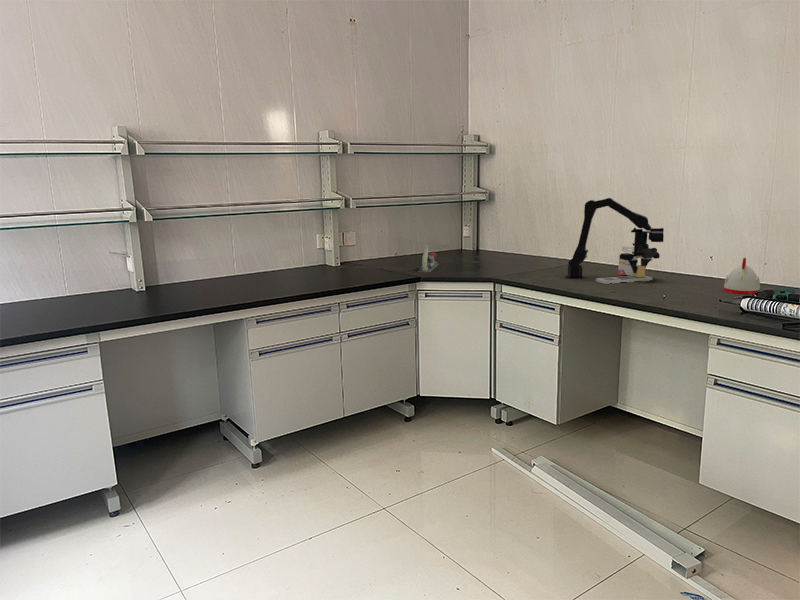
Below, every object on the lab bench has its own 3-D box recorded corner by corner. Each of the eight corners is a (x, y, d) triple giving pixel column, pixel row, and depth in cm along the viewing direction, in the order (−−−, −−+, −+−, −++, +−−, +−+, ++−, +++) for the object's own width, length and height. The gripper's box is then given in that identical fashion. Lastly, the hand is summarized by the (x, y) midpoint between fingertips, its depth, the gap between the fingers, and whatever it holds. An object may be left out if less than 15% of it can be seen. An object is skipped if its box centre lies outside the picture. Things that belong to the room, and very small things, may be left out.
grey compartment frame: (604, 283, 286) (604, 280, 286) (595, 281, 294) (595, 277, 294) (652, 280, 292) (652, 277, 291) (642, 278, 299) (642, 274, 299)
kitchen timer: (721, 292, 261) (725, 259, 257) (725, 287, 272) (728, 255, 269) (758, 295, 253) (762, 261, 250) (760, 290, 264) (764, 257, 261)
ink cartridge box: (617, 275, 309) (619, 247, 306) (619, 274, 313) (621, 246, 310) (634, 276, 304) (636, 248, 301) (636, 275, 308) (638, 247, 305)
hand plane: (417, 272, 333) (417, 246, 330) (427, 264, 362) (427, 240, 359) (429, 273, 331) (429, 246, 328) (439, 264, 361) (438, 240, 357)
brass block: (637, 278, 292) (637, 266, 291) (632, 277, 296) (633, 265, 294) (644, 278, 293) (645, 266, 291) (639, 276, 296) (640, 264, 295)
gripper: (633, 244, 281) (631, 276, 284) (668, 242, 285) (665, 274, 288) (619, 241, 292) (618, 273, 295) (653, 240, 295) (651, 271, 299)
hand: (638, 273), depth 294 cm, fingers closed on brass block, 4 cm apart
